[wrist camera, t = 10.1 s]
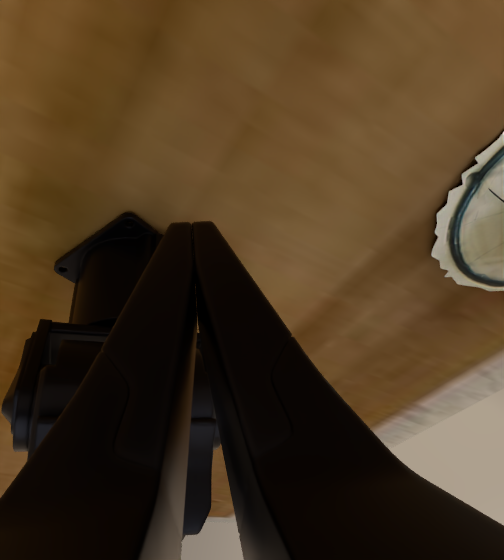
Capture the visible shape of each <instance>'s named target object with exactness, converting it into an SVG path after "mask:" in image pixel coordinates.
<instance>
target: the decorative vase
mask: <svg viewBox="0 0 504 560" xmlns="http://www.w3.org/2000/svg"><path fill="white" fill-rule="evenodd" d="M475 159H476V161H477V162H478V164H476V165H475V166H473V167H472V168H470V169H469V170H467V171H466V172H464V173H462V182H463V185H461V186H459V187H457V188H455V189H453V190H451V191H449V194H448V200H447V204H446V205H445V206H444V207H443V208H442V209H441V210H440V211H439V212H438V213H437V226H436V229H435V232H434V233H435V234H436V235H437V236H438V239H437V241H436V243H435V245H434V247H433V249H432V255H431V256H432V257H434V258H436V259H437V260H439V261H440V267H441V268H442V269H445V270H448V272H447V274H446V275H445V276H444V277H452V278H453V279H454V280H455V282H456V283H457V284H459V285H466V286H473V287H480V288H482V289H485V290H487V291H504V132H503V133H502V135H501V136H500V138H499V139H498V140H496V141H495V142H494V143H493V144H492V145H491V146H489V147H488V148H487V149H486V150H485V151H483V152H482V153H481V154H479V155H478V156H476V157H475Z"/></svg>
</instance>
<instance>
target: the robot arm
mask: <svg viewBox="0 0 504 560" xmlns="http://www.w3.org/2000/svg"><path fill="white" fill-rule="evenodd" d="M126 221H132V222H131V223H128V222H126ZM192 236H193V240H192ZM193 253H194V256H193ZM63 267H65V268H63ZM54 270H55V272H56V273H58V274H59V275H61V276H63V277H65V278H66V279H68V280H70V281H72V282H73V283H75V287H74V293H73V299H72V305H71V311H70V317H69V323H60V322H52V320H45V319H40V322H39V325H38V328H37V331H36V332H33V333H32V336H31V338H29V339H27V340H26V342H25V346H24V350H23V354H22V359H21V362H20V366H19V369H18V371H17V374H16V376H15V378H14V380H13V382H12V384H11V386H10V388H9V390H8V392H7V394H6V396H5V398H4V400H3V404H2V414H3V415H4V416H5V418H6V419H7V420H8V421H9V422H10V423H11V433H12V434H13V449H14V451H28V459H27V462H26V464H25V465H24V467H23V468H22V469H21V471H20V472H19V474H18V475H17V476H16V478H15V479H14V481H13V482H12V483H11V485H10V486H9V487H8V489H7V490H6V491H5V493H4V494H3V495H2V497H1V498H0V560H181V547H182V543H181V542H182V540H183V539H184V537H185V535H195V534H198V533H199V532H200V531H201V529H202V527H203V525H204V523H205V520H206V518H207V516H208V514H209V512H210V509H211V471H212V458H213V450H216V449H217V448H219V446H220V444H221V445H222V450H223V455H224V460H225V465H226V471H227V476H228V481H229V486H230V491H231V496H232V501H233V506H234V511H235V516H236V521H237V526H238V532H239V533H240V541H241V547H242V552H243V557H244V560H504V526H503V525H502V524H500V523H498V522H497V521H495V520H493V519H491V518H490V517H488V516H486V515H484V514H483V513H481V512H479V511H478V510H476V509H475V508H473V507H471V506H470V505H468V504H466V503H464V502H463V501H461V500H459V499H458V498H456V497H454V496H452V495H451V494H449V493H448V492H446V491H444V490H442V489H441V488H439V487H437V486H436V485H434V484H432V483H430V482H429V481H427V480H426V479H424V478H422V477H420V476H419V475H418V474H416V473H415V472H414V471H412V470H411V469H410V468H408V467H407V466H406V465H405V464H403V463H402V462H401V461H400V460H399V459H398V458H397V457H396V456H395V455H394V454H392V453H391V451H390V450H389V449H388V448H387V447H386V446H385V445H384V444H383V443H382V442H381V441H380V439H379V438H378V437H377V436H376V435H375V434H374V433H373V432H372V431H371V430H370V428H369V427H368V426H367V425H366V424H365V423H364V422H363V421H362V420H361V418H360V417H359V416H358V415H357V414H356V413H355V412H354V411H353V410H352V409H351V407H350V406H349V405H348V404H347V403H346V402H345V401H344V400H343V399H342V397H341V396H340V395H339V394H338V393H337V392H336V391H335V390H334V388H333V387H332V386H331V385H330V384H329V383H328V381H327V380H326V379H325V378H324V377H323V376H322V374H321V373H320V372H319V371H318V369H317V368H316V367H315V365H314V364H313V363H312V361H311V360H310V359H309V357H308V356H307V355H306V353H305V352H304V351H303V349H302V348H301V346H300V345H299V344H298V342H297V341H296V339H295V338H294V337H291V336H292V334H291V333H290V331H289V330H288V328H287V327H286V325H285V324H284V323H283V321H282V320H281V318H280V317H279V315H278V314H277V313H276V311H275V310H274V308H273V307H272V305H271V304H270V303H269V301H268V300H267V298H266V297H265V295H264V294H263V293H262V291H261V290H260V288H259V287H258V286H257V284H256V283H255V281H254V280H253V278H252V277H251V276H250V274H249V273H248V271H247V270H246V268H245V267H244V266H243V264H242V263H241V261H240V260H239V258H238V257H237V256H236V254H235V253H234V251H233V250H232V249H231V247H230V246H229V244H228V243H227V241H226V240H225V239H224V237H223V236H222V234H221V233H220V231H219V230H218V229H217V227H216V226H215V224H214V223H213V222H211V221H201V222H194V223H193V224H192V225H191V223H189V222H178V223H171V224H170V225H169V227H168V229H167V230H166V232H165V234H164V235H163V234H161V233H158V232H157V231H156V230H155V229H153V228H152V227H151V226H149V225H148V224H147V223H146V222H144V221H143V220H142V219H141V218H139V217H138V216H137V215H135V214H133V213H129V212H128V213H124V214H122V215H121V216H119V217H118V218H116V219H115V220H114V221H112V222H111V223H109V224H108V225H106V226H105V227H104V228H102V229H101V230H99V231H98V232H97V233H95V234H94V235H92V236H91V237H89V238H88V239H87V240H85V241H84V242H82V243H81V244H80V245H78V246H77V247H75V248H74V249H73V250H71V251H70V252H68V253H67V254H65V255H64V256H63V257H61V258H60V259H58V260H57V261H56V262H55V266H54ZM194 270H195V271H194ZM195 286H196V289H195ZM196 302H197V306H196ZM197 317H198V327H199V333H197Z"/></svg>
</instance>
